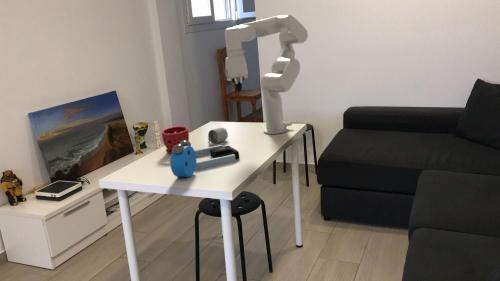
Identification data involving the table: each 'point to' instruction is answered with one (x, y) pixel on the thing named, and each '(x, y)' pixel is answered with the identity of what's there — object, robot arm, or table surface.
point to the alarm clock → (183, 159)
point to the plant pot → (174, 137)
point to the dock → (212, 161)
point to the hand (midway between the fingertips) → (238, 91)
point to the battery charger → (223, 152)
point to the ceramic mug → (217, 135)
